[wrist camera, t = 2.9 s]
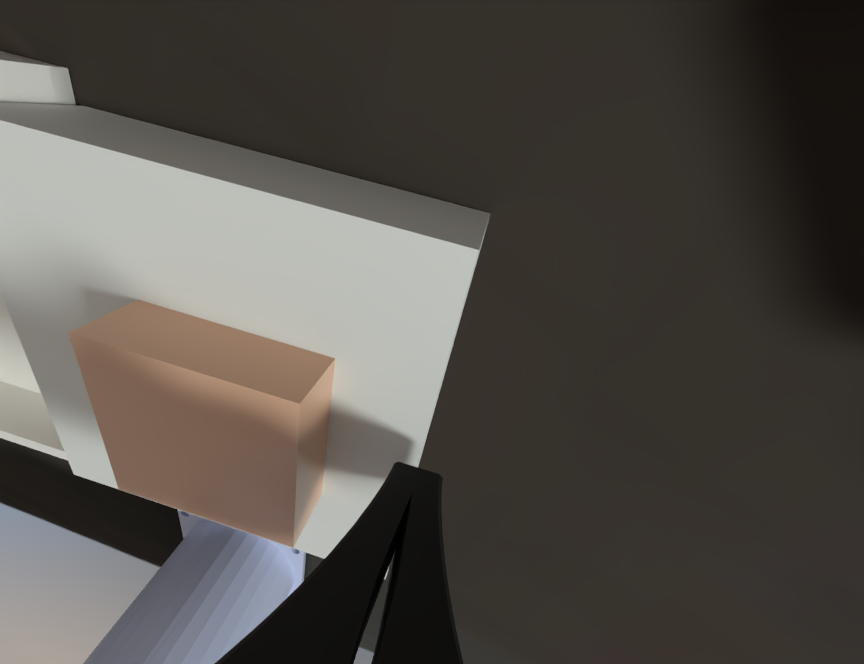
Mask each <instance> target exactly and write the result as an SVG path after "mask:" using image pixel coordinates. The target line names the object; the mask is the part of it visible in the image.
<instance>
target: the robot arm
mask: <svg viewBox="0 0 864 664" xmlns="http://www.w3.org/2000/svg"><path fill="white" fill-rule="evenodd" d="M442 479H443V478H442V477H441V475H440V474H437V473H433V472H430V471H427V470H424V469H421V468H418V467H414V466H411V465H408V464H405V463H402V462H396V463H394V465H393V467H392V469H391V471H390V473H389V475H388V476H387V478H386V480H385V482H384V483H383V485H382V486H381V488H380V489H379V491H378V492H377V494H376V495H375V497H374V498H373V500H372V501H371V503H370V504H369V505H368V507H367V508H366V509H365V510H364V512H363V513H362V514H361V516H360V517H359V518H358V520H357V521H356V522H355V524H354V525H353V526H352V527H351V529H350V530H349V531H348V532H347V533H346V535H345V536H344V537H343V538H342V539H341V541H340V542H339V543H338V544H337V545H336V546H335V548H334V549H333V550H332V551H331V552H330V553H329V555H328V556H327V557H326V558H325V559H324V560H323V561H322V562H321V563H320V565H319V566H318V567H317V568H316V569H315V570H314V571H313V572H312V573H311V574H310V575H309V576H308V577H307V578H306V579H305V580H304V571H305V557H306V552H303V551H300V550H297V549H294V548H291V547H288V546H285V545H282V544H279V543H276V542H273V541H270V540H267V539H265V538H262V537H259V536H256V535H253V534H250V533H247V532H244V531H241V530H238V529H235V528H232V527H229V526H226V525H223V524H220V523H217V522H214V521H211V520H208V519H205V518H202V517H199V516H196V515H193V514H190V513H187V512H184V511H181V510H178V509H177V510H178V515H179V519H180V524H181V529H182V534H183V540H182V542H181V543H180V544H179V545H178V547H177V548H176V549H175V550H174V552H173V553H172V554H171V555H170V557H169V558H168V559H167V560H166V562H165V563H164V564H163V565H162V567H161V568H160V569H159V570H158V571H157V573H156V574H155V575H154V577H153V578H152V579H151V580H150V581H149V583H148V584H147V585H146V587H145V588H144V589H143V590H142V591H141V593H140V594H139V595H138V596H137V598H136V599H135V600H134V601H133V603H132V604H131V605H130V606H129V607H128V609H127V610H126V611H125V613H124V614H123V615H122V616H121V617H120V619H119V620H118V621H117V622H116V624H115V625H114V626H113V627H112V629H111V630H110V631H109V632H108V634H107V635H106V636H105V637H104V639H103V640H102V641H101V642H100V643H99V645H98V646H97V647H96V648H95V650H94V651H93V652H92V653H91V655H90V656H89V657H88V658H87V660H86V661H85V662H84V664H353V663H354V660H355V656H356V653H357V650H358V647H359V645H360V642H361V639H362V636H363V633H364V630H365V628H366V625H367V623H368V620H369V617H370V615H371V612H372V609H373V607H374V604H375V602H376V599H377V596H378V594H379V591H380V588H381V586H382V583H383V581H384V578H385V575H386V573H387V570H388V567H389V565H390V562H391V560H392V557H393V554H394V552H395V555H394V559H393V564H392V569H391V574H390V579H389V584H388V589H387V594H386V599H385V604H384V609H383V614H382V619H381V624H380V629H379V634H378V639H377V643H376V647H375V651H374V656H373V660H372V663H371V664H463V660H462V656H461V651H460V647H459V642H458V637H457V632H456V627H455V622H454V617H453V612H452V606H451V600H450V593H449V587H448V580H447V573H446V565H445V556H444V546H443V535H442V518H441V490H442ZM395 549H396V550H395Z"/></svg>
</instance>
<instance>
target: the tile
mask: <svg viewBox="0 0 864 664" xmlns="http://www.w3.org/2000/svg"><path fill="white" fill-rule="evenodd" d="M68 333H69V336H70V339H71V342H72V345H73V349H74V352H75V355H76V358H77V361H78V364H79V367H80V370H81V374H82V377H83V380H84V383H85V386H86V389H87V392H88V395H89V398H90V402H91V405H92V408H93V411H94V414H95V417H96V420H97V423H98V427H99V430H100V433H101V436H102V439H103V442H104V445H105V448H106V451H107V455H108V458H109V461H110V464H111V467H112V470H113V473H114V476H115V480H116V483H117V486H118V489H120V490H123V491H126V492H129V493H132V494H135V495H138V496H141V497H144V498H147V499H149V500H152V501H155V502H158V503H161V504H164V505H167V506H170V507H173V508H176V509H179V510H182V511H185V512H188V513H191V514H194V515H197V516H200V517H203V518H206V519H209V520H212V521H215V522H218V523H221V524H224V525H227V526H230V527H233V528H236V529H239V530H242V531H245V532H248V533H251V534H254V535H257V536H260V537H263V538H266V539H269V540H271V541H274V542H277V543H280V544H283V545H286V546H289V547H292V548H293V547H294V546H295V544H296V542H297V540H298V538H299V536H300V534H301V532H302V530H303V529H304V527H305V525H306V523H307V521H308V519H309V517H310V515H311V514H312V512H313V510H314V508H315V506H316V504H317V502H318V500H319V499H320V497H321V495H322V487H323V477H324V467H325V457H326V447H327V437H328V427H329V417H330V408H331V398H332V388H333V378H334V368H335V358H332V357H329V356H326V355H322V354H319V353H316V352H312V351H309V350H306V349H302V348H299V347H295V346H292V345H289V344H285V343H282V342H279V341H275V340H272V339H269V338H265V337H262V336H259V335H255V334H252V333H249V332H245V331H242V330H239V329H235V328H232V327H229V326H225V325H222V324H218V323H215V322H212V321H208V320H205V319H202V318H198V317H195V316H192V315H188V314H185V313H182V312H178V311H175V310H172V309H168V308H165V307H162V306H158V305H155V304H152V303H148V302H145V301H141V300H137V301H135V302H133V303H130V304H128V305H126V306H124V307H122V308H120V309H118V310H115V311H113V312H111V313H109V314H107V315H105V316H102V317H100V318H98V319H96V320H94V321H92V322H89V323H87V324H85V325H83V326H81V327H79V328H76V329H74V330H72V331H70V332H68Z"/></svg>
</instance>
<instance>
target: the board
mask: <svg viewBox="0 0 864 664" xmlns="http://www.w3.org/2000/svg"><path fill="white" fill-rule="evenodd" d="M490 214H491V213H487V212H483V211H480V210H476V209H472V208H468V207H464V206H461V205H457V204H453V203H449V202H446V201H442V200H438V199H434V198H430V197H427V196H423V195H419V194H415V193H412V192H408V191H404V190H400V189H396V188H393V187H389V186H385V185H381V184H378V183H374V182H370V181H366V180H362V179H359V178H355V177H351V176H347V175H344V174H340V173H336V172H332V171H328V170H325V169H321V168H317V167H313V166H309V165H306V164H302V163H298V162H294V161H291V160H287V159H283V158H279V157H275V156H272V155H268V154H264V153H260V152H257V151H253V150H249V149H245V148H241V147H238V146H234V145H230V144H226V143H223V142H219V141H215V140H211V139H207V138H204V137H200V136H196V135H192V134H188V133H185V132H181V131H177V130H173V129H170V128H166V127H162V126H158V125H154V124H151V123H147V122H143V121H139V120H136V119H132V118H128V117H124V116H120V115H117V114H113V113H109V112H105V111H102V110H98V109H94V108H90V107H86V106H76V105H52V104H28V103H3V102H0V292H1V294H2V297H3V299H4V302H5V304H6V307H7V309H8V312H9V314H10V317H11V319H12V322H13V324H14V327H15V329H16V332H17V334H18V337H19V339H20V342H21V344H22V347H23V349H24V351H25V354H26V356H27V359H28V361H29V364H30V366H31V369H32V371H33V374H34V376H35V379H36V381H37V384H38V386H39V389H40V391H41V394H42V396H43V399H44V401H45V404H46V406H47V409H48V411H49V414H50V416H51V419H52V421H53V424H54V426H55V429H56V431H57V434H58V436H59V439H60V441H61V444H62V446H63V449H64V451H65V454H66V456H67V459H68V461H69V464H70V466H71V469H72V471H73V474H74V475H77V476H80V477H83V478H86V479H89V480H92V481H95V482H98V483H101V484H104V485H107V486H110V487H113V488H116V489H118V486H117V483H116V480H115V476H114V473H113V470H112V467H111V464H110V461H109V458H108V455H107V451H106V448H105V445H104V442H103V439H102V436H101V433H100V430H99V427H98V423H97V420H96V417H95V414H94V411H93V408H92V405H91V402H90V398H89V395H88V392H87V389H86V386H85V383H84V380H83V377H82V374H81V370H80V367H79V364H78V361H77V358H76V355H75V352H74V349H73V345H72V342H71V339H70V336H69V333H68V332H70V331H72V330H74V329H76V328H79V327H81V326H83V325H85V324H87V323H89V322H92V321H94V320H96V319H98V318H100V317H102V316H105V315H107V314H109V313H111V312H113V311H115V310H118V309H120V308H122V307H124V306H126V305H128V304H130V303H133V302H135V301H137V300H141V301H145V302H148V303H152V304H155V305H158V306H162V307H165V308H168V309H172V310H175V311H178V312H182V313H185V314H188V315H192V316H195V317H198V318H202V319H205V320H208V321H212V322H215V323H218V324H222V325H225V326H229V327H232V328H235V329H239V330H242V331H245V332H249V333H252V334H255V335H259V336H262V337H265V338H269V339H272V340H275V341H279V342H282V343H285V344H289V345H292V346H295V347H299V348H302V349H306V350H309V351H312V352H316V353H319V354H322V355H326V356H329V357H332V358H335V368H334V378H333V388H332V398H331V408H330V417H329V427H328V437H327V447H326V457H325V467H324V477H323V487H322V495H321V497H320V499H319V500H318V502H317V504H316V506H315V508H314V510H313V512H312V514H311V515H310V517H309V519H308V521H307V523H306V525H305V527H304V529H303V530H302V532H301V534H300V536H299V538H298V540H297V542H296V544H295V546H294V547H293V548H294V549H297V550H300V551H303V552H306V553H309V554H312V555H315V556H318V557H321V558H324V559H325V558H326V557H327V556H328V555H329V553H330V552H331V551H332V550H333V549H334V548H335V546H336V545H337V544H338V543H339V542H340V541H341V539H342V538H343V537H344V536H345V535H346V533H347V532H348V531H349V530H350V529H351V527H352V526H353V525H354V524H355V522H356V521H357V520H358V518H359V517H360V516H361V514H362V513H363V512H364V510H365V509H366V508H367V507H368V505H369V504H370V503H371V501H372V500H373V498H374V497H375V495H376V494H377V492H378V491H379V489H380V488H381V486H382V485H383V483H384V482H385V480H386V478H387V476H388V475H389V473H390V471H391V469H392V467H393V465H394V463H396V462H402V463H405V464H408V465H411V466H414V467H418V466H419V462H420V459H421V455H422V452H423V448H424V445H425V441H426V438H427V434H428V431H429V427H430V424H431V420H432V417H433V413H434V410H435V406H436V403H437V399H438V396H439V392H440V389H441V385H442V382H443V378H444V375H445V371H446V368H447V364H448V361H449V357H450V354H451V350H452V347H453V343H454V340H455V336H456V333H457V329H458V326H459V322H460V319H461V315H462V312H463V308H464V305H465V301H466V298H467V294H468V291H469V287H470V284H471V280H472V277H473V273H474V270H475V266H476V263H477V259H478V256H479V252H480V249H481V245H482V242H483V238H484V235H485V231H486V228H487V224H488V221H489V217H490ZM119 490H120V489H119ZM122 491H123V490H122ZM125 492H126V491H125ZM128 493H129V492H128ZM131 494H132V493H131ZM134 495H135V494H134ZM137 496H138V495H137ZM140 497H141V496H140ZM143 498H144V497H143ZM146 499H147V498H146ZM148 500H149V499H148ZM151 501H152V500H151ZM154 502H155V501H154ZM157 503H158V502H157ZM160 504H161V503H160ZM163 505H164V504H163ZM166 506H167V505H166ZM169 507H170V506H169ZM172 508H173V507H172ZM175 509H176V508H175ZM178 510H179V509H178ZM181 511H182V510H181ZM184 512H185V511H184ZM187 513H188V512H187ZM190 514H191V513H190ZM193 515H194V514H193ZM196 516H197V515H196ZM199 517H200V516H199ZM202 518H203V517H202ZM205 519H206V518H205ZM208 520H209V519H208ZM211 521H212V520H211ZM214 522H215V521H214ZM217 523H218V522H217ZM220 524H221V523H220ZM223 525H224V524H223ZM226 526H227V525H226ZM229 527H230V526H229ZM232 528H233V527H232ZM235 529H236V528H235ZM238 530H239V529H238ZM241 531H242V530H241ZM244 532H245V531H244ZM247 533H248V532H247ZM250 534H251V533H250ZM253 535H254V534H253ZM256 536H257V535H256ZM259 537H260V536H259ZM262 538H263V537H262ZM265 539H266V538H265ZM267 540H269V539H267ZM270 541H271V540H270ZM273 542H274V541H273ZM276 543H277V542H276ZM279 544H280V543H279ZM282 545H283V544H282ZM285 546H286V545H285ZM288 547H289V546H288ZM291 548H292V547H291ZM388 569H389V567H388ZM387 572H388V570H387ZM386 576H387V573H386V575H385V578H384V579H386Z"/></svg>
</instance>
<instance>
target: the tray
mask: <svg viewBox="0 0 864 664" xmlns="http://www.w3.org/2000/svg"><path fill="white" fill-rule="evenodd" d="M0 102H3V103H28V104H52V105H76V103H75V98H74V94H73V90H72V85H71V81H70V76H69V72H68V68H65V67H61V66H57V65H53V64H49V63H46V62H42V61H38V60H34V59H30V58H26V57H22V56H18V55H15V54H11V53H7V52H3V51H0ZM0 438H2V439H5V440H8V441H11V442H14V443H17V444H20V445H23V446H26V447H29V448H32V449H35V450H38V451H41V452H44V453H47V454H50V455H53V456H56V457H59V458H62V459H65V460H68V459H67V456H66V454H65V451H64V449H63V446H62V444H61V441H60V439H59V436H58V434H57V431H56V429H55V426H54V424H53V421H52V419H51V416H50V414H49V411H48V409H47V406H46V404H45V401H44V399H43V396H42V394H41V391H40V389H39V386H38V384H37V381H36V379H35V376H34V374H33V371H32V369H31V366H30V364H29V361H28V359H27V356H26V354H25V351H24V349H23V347H22V344H21V342H20V339H19V337H18V334H17V332H16V329H15V327H14V324H13V322H12V319H11V317H10V314H9V312H8V309H7V307H6V304H5V302H4V299H3V297H2V294H1V292H0Z"/></svg>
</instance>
